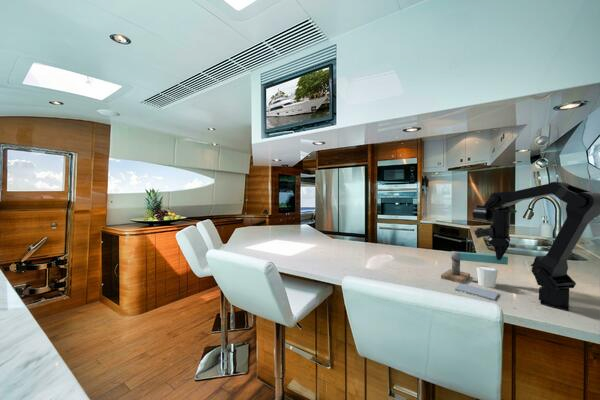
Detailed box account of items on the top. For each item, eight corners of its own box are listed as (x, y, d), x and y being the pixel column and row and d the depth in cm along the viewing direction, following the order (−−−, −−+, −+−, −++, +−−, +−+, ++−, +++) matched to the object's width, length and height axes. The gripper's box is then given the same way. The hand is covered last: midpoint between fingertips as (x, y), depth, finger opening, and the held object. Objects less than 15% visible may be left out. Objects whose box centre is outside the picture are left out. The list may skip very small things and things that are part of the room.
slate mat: (498, 294, 87) (498, 292, 87) (494, 300, 82) (494, 299, 82) (460, 284, 96) (460, 283, 96) (454, 290, 91) (454, 288, 91)
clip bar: (452, 259, 103) (452, 252, 103) (450, 257, 106) (450, 250, 106) (508, 265, 96) (508, 257, 96) (504, 262, 99) (504, 255, 99)
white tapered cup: (501, 289, 92) (502, 271, 92) (481, 287, 93) (482, 270, 93) (491, 282, 99) (491, 266, 98) (472, 281, 100) (473, 265, 100)
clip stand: (469, 276, 105) (470, 259, 105) (462, 283, 97) (462, 264, 97) (449, 272, 111) (450, 255, 111) (441, 278, 103) (441, 260, 103)
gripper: (478, 219, 108) (477, 252, 109) (473, 222, 95) (471, 260, 95) (511, 221, 101) (509, 257, 101) (510, 225, 87) (508, 266, 88)
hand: (498, 260), depth 97 cm, fingers closed
